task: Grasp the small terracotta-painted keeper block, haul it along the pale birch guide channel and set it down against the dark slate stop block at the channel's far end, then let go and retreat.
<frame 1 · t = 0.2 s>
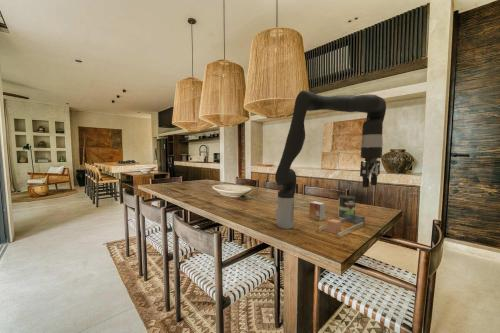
hand: (369, 186, 86), 29 cm above the table, fingers open, 8 cm apart
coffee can: (346, 217, 139), on the table
small box: (316, 218, 137), on the table
keeper: (333, 231, 114), on the table
guide channel: (341, 228, 119), on the table
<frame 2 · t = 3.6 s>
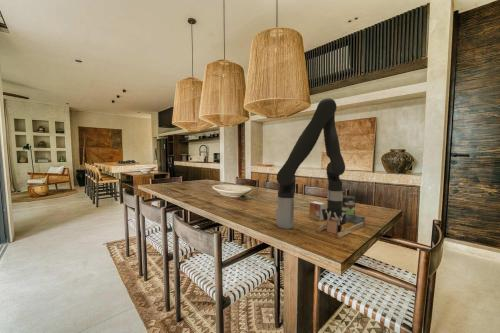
hand: (334, 229, 114), 1 cm above the table, fingers closed on keeper, 5 cm apart
keeper: (333, 231, 114), on the table, touching gripper
everything else where it was.
when the fingers open (2 cm above the table, at t = 9.3 s): keeper drops 1 cm, on the table.
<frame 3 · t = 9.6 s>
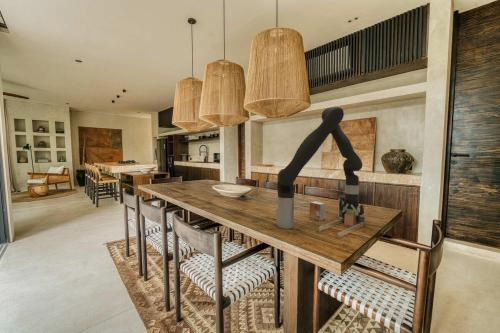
hand: (350, 219, 125), 3 cm above the table, fingers open, 7 cm apart
keeper: (350, 224, 126), on the table
everything else where it was.
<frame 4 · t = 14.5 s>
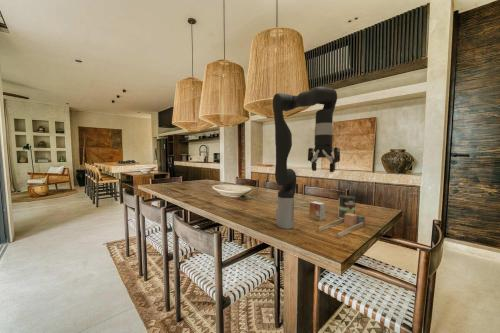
hand: (322, 171, 93), 34 cm above the table, fingers open, 8 cm apart
nothing on the table moved.
at the end: keeper inside the target area (0.4 cm from its centre), on the table; keeper tilted 0°; the gripper is holding nothing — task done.
